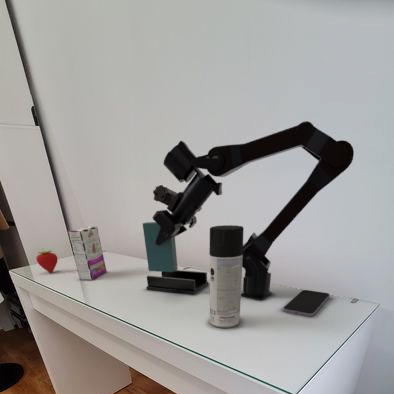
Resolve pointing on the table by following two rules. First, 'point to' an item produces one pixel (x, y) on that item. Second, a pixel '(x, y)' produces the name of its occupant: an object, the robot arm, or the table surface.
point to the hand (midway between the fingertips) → (159, 243)
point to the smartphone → (306, 303)
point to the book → (159, 250)
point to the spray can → (225, 275)
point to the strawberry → (47, 260)
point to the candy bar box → (88, 252)
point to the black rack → (178, 282)
